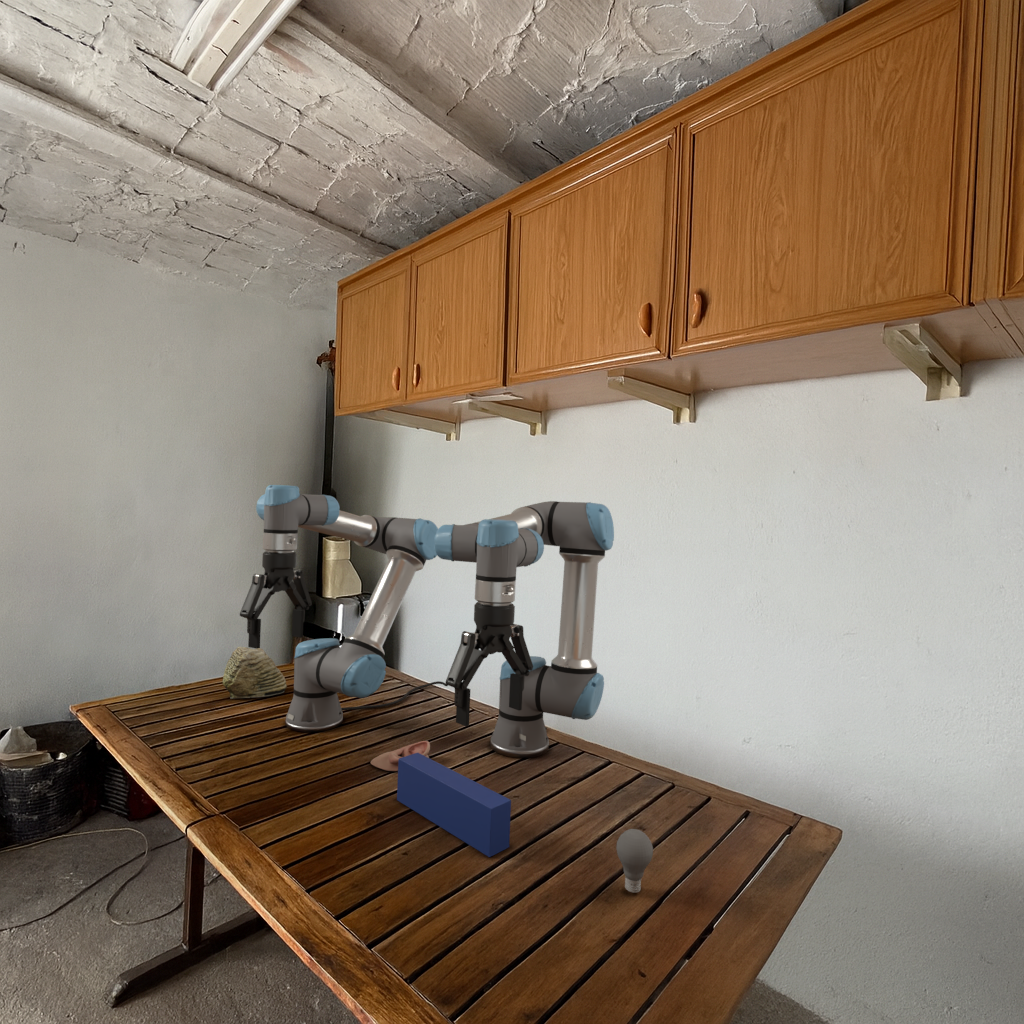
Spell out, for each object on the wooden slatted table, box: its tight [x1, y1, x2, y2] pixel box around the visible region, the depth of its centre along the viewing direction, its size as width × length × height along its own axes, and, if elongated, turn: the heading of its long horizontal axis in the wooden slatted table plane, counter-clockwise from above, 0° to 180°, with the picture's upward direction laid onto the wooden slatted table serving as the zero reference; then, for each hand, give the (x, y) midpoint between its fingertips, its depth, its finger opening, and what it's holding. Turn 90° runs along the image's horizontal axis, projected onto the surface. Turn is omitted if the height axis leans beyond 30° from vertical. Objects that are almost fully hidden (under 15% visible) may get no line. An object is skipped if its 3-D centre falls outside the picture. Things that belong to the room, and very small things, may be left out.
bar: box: [396, 753, 512, 858], centre depth 126 cm, size 28×5×9 cm, turn 46°
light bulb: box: [615, 828, 654, 894], centre depth 106 cm, size 6×6×10 cm
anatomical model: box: [370, 740, 431, 772], centre depth 153 cm, size 13×4×12 cm
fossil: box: [222, 646, 288, 699], centre depth 198 cm, size 9×18×15 cm, turn 132°
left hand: (276, 642), depth 148 cm, fingers open, 13 cm apart
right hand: (489, 716), depth 118 cm, fingers open, 13 cm apart
